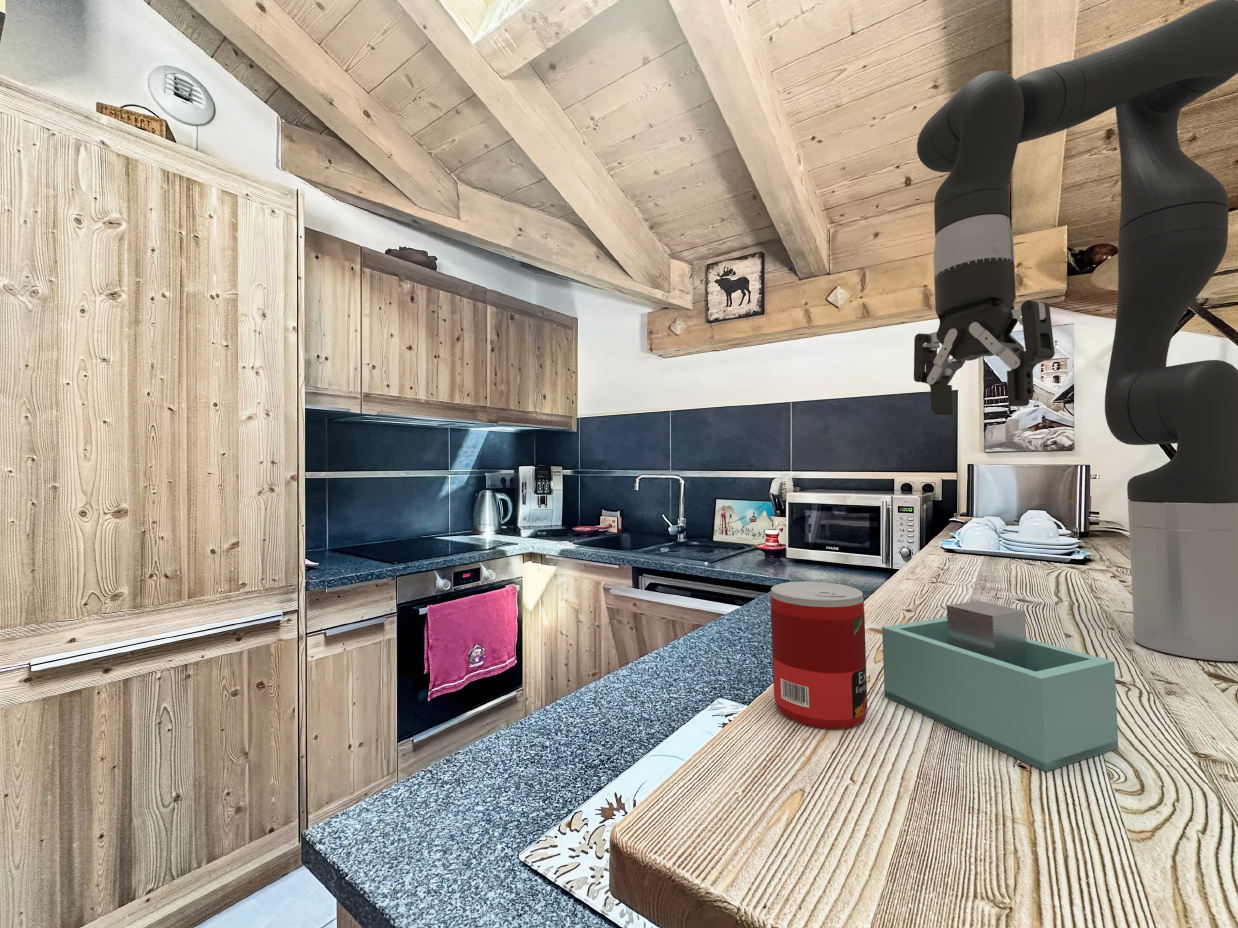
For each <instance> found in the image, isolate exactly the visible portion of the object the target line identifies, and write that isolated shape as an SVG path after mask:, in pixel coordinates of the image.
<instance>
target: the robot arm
mask: <svg viewBox="0 0 1238 928" xmlns="http://www.w3.org/2000/svg"><path fill="white" fill-rule="evenodd" d="M1237 74H1238V0H1212V1H1210V2H1207V3H1205V4H1203V5H1201V6H1198V7H1196V8H1195V9H1193V10H1191V11H1189V12H1187V13H1185V14H1182V16H1179V17H1177V18H1176V19H1174V20H1172V21H1170V22H1167V23H1165V24H1164V25H1161V26H1159V27H1156V28H1154V29H1151V30H1149V31H1147V32H1145V33H1142V34H1140V35H1138V36H1136V37H1132V38H1131V39H1129V40H1126V41H1123V42H1120V43H1118V44H1116V45H1115V44H1114V45H1112V46H1110V47H1108V48H1105V49H1103V50H1099V51H1096V52H1094V53H1091V54H1090V53H1089V54H1087V55H1084V56H1081V57H1079V58H1075V59H1072V60H1068V61H1065V62H1060V63H1057V64H1054V65H1050V66H1047V67H1044V68H1043V67H1042V68H1039V69H1037V70H1033V71H1030V72H1027V73H1025V74H1023V75H1020V76H1018V77H1017V78H1016V79H1015V78H1014V77H1013V76H1012V75H1010V74H1008V73H1006V72H1004V71H1002V70H989V71H985V72H983V73H981V74H979V75H976V76H975V77H973V78H972V79H970V80H969V81H968V82H966V84H965V85H963V86H962V87H961V88H960V89H959V90H958V91H957V92H956V93H955V94H954V95H953V96H952V97H951V98H950V99H948V100H947V102H946V103H945V104H944V105H943V106H942V107H940V109H938V110H937V111H936V112H935V113H934V114H933V115H932V116H931V117H930V118H929V119H928V120H927V122H926V123H925V124H924V125H923V127H922V129H921V131H920V133H919V135H918V138H917V142H916V152H917V156H918V158H919V161H920V162H921V163H922V164H923V165H924V167H926V168H927V169H929V170H931V171H933V172H937V173H949V174H948V175H947V177H946V178H945V179H944V181H943V182H942V183H941V184H940V186H939V188H938V189H937V191H936V192H935V196H934V202H933V203H934V205H933V206H934V207H933V208H934V210H933V214H934V215H933V216H934V239H935V240H934V249H933V278H934V280H933V281H934V301H935V302H934V306H935V314H936V316H937V317H938V320H939V325H938V328H937V331H934V332H929V333H921V332H919V333H917V334H916V335H915V336H914V343H913V344H914V345H913V347H914V348H913V354H914V355H913V358H914V359H913V380H914V382H915V383H924V384H927V385H928V386H929V388H930V408H931V411H932V412H933V413H934V415H935V416H936V417H949V416H952V415H953V411H954V409H953V408H954V407H953V406H954V405H953V385H952V384H950V382H951V380H952V379H953V377H954V376H955V374H956V372H957V371H958V370H960V369H962V367H963V366H964V365H965V363H966V361H967V362H968V361H969V362H971V361H974V360H977V359H979V358H981V357H992V356H996V357H997V358H999V359H1000V360H1001V361H1002V362H1003V363H1004V364H1005V365H1006V366H1007V367H1008V368H1009V369H1010V370H1007V371H1006V379H1007V380H1006V382H1007V384H1006V385H1007V403H1008V405H1009V407H1017V408H1018V407H1019V408H1021V407H1028V405H1029V404H1030V401H1031V400H1032V399H1033V397H1034V395H1035V392H1034V369H1035V367H1036V366H1037V365H1039V364H1040V363H1042V362H1044V361H1048V360H1049V361H1050V360H1051V359H1053V358H1054V357H1055V353H1056V352H1055V351H1056V350H1055V343H1054V336H1053V335H1054V334H1053V325H1052V317H1051V307H1050V304H1049V303H1048V302H1044V301H1036V300H1030V299H1029V300H1028V299H1027V300H1024V301H1023V302H1022V304H1021V306H1019V307H1016V308H1015V306H1014V303H1015V301H1016V299H1017V293H1016V292H1017V291H1016V289H1017V288H1016V273H1015V272H1016V271H1015V268H1016V267H1015V244H1014V243H1015V242H1014V237H1013V236H1014V235H1013V231H1012V227H1011V218H1010V203H1009V202H1010V198H1009V197H1010V196H1009V192H1010V191H1009V180H1010V176H1011V174H1012V169H1013V167H1014V163H1015V158H1016V156H1017V155H1016V154H1017V151H1018V145H1019V144H1022V143H1025V142H1030V141H1033V140H1037V139H1040V138H1043V137H1047V136H1051V135H1052V134H1053V135H1054V134H1058V133H1059V132H1062V131H1065V130H1068V129H1071V128H1073V127H1075V126H1078V125H1080V124H1081V125H1082V124H1083V123H1085V122H1088V121H1089V120H1091V119H1093V118H1096V117H1098V116H1099V115H1101V114H1103V113H1105V112H1107V111H1109V110H1111V109H1113V108H1115V117H1116V127H1117V137H1118V145H1119V155H1120V214H1119V215H1120V218H1119V228H1118V246H1117V248H1118V249H1117V268H1118V269H1117V270H1118V271H1117V272H1118V273H1117V274H1118V275H1117V276H1118V277H1117V279H1118V281H1117V301H1116V302H1117V304H1116V314H1115V315H1116V317H1115V327H1114V329H1115V330H1114V335H1113V343H1112V349H1111V354H1110V360H1109V367H1108V372H1107V379H1106V380H1107V381H1106V386H1105V394H1104V416H1105V421H1106V423H1107V428H1108V429H1109V431H1110V433H1111V434H1112V436H1113V437H1114V438H1115V439H1116V440H1118V441H1119V442H1120V443H1122V444H1125V445H1129V446H1148V445H1149V446H1150V445H1173V444H1174V445H1175V444H1176V451H1175V454H1174V455H1173V457H1172V458H1171V459H1170V460H1169V461H1168V462H1166V463H1164V464H1163V465H1161V466H1160V467H1158V468H1157V467H1156V468H1155V469H1153V470H1149V471H1147V472H1144V473H1140V474H1137V475H1134V476H1132V477H1131V478H1130V479H1129V480H1128V482H1127V487H1126V489H1127V490H1126V491H1127V510H1128V512H1127V513H1128V530H1129V531H1128V532H1129V533H1128V534H1129V550H1130V552H1129V554H1130V572H1131V573H1130V574H1131V576H1130V577H1131V592H1132V593H1131V596H1132V617H1133V618H1132V619H1133V621H1132V622H1133V638H1134V639H1133V640H1134V641H1135V643H1137V644H1139V645H1140V646H1144V647H1146V648H1148V649H1152V650H1155V651H1159V652H1162V653H1167V654H1170V655H1176V656H1181V657H1187V658H1193V659H1199V660H1207V661H1218V662H1238V369H1237V367H1235V366H1234V365H1233V364H1231V363H1229V362H1228V361H1224V360H1220V359H1208V360H1200V361H1194V362H1187V363H1181V364H1173V365H1170V366H1169V365H1168V366H1167V362H1168V361H1167V360H1168V354H1169V348H1170V345H1171V341H1172V338H1173V334H1174V333H1175V330H1176V328H1177V326H1178V324H1179V323H1180V321H1181V319H1182V318H1183V316H1184V315H1185V314H1186V312H1187V311H1188V309H1189V308H1190V307H1191V306H1192V304H1193V303H1194V302H1195V300H1196V299H1197V297H1198V296H1199V295H1200V294H1201V292H1203V290H1204V288H1205V287H1206V285H1207V284H1208V283H1209V281H1210V280H1211V279H1212V277H1213V276H1214V274H1215V273H1216V271H1217V269H1218V268H1219V266H1220V265H1221V263H1222V261H1223V259H1224V257H1225V255H1226V252H1227V248H1228V242H1229V241H1228V240H1229V210H1230V209H1229V208H1230V207H1229V206H1230V205H1229V197H1228V192H1227V190H1226V189H1225V186H1224V185H1223V184H1222V182H1220V180H1218V179H1217V178H1216V177H1215V176H1214V175H1213V174H1211V173H1210V172H1209V171H1208V170H1207V169H1205V168H1203V167H1202V166H1201V165H1199V164H1198V163H1197V162H1196V161H1194V160H1192V159H1191V157H1189V156H1188V155H1186V154H1185V153H1184V151H1183V150H1182V149H1181V146H1180V142H1179V136H1178V123H1179V116H1180V112H1181V111H1182V109H1184V107H1186V106H1187V105H1189V104H1191V103H1193V102H1195V101H1196V100H1198V99H1200V98H1201V97H1203V96H1204V95H1206V94H1208V93H1209V92H1211V91H1213V90H1215V89H1216V88H1218V87H1220V86H1222V85H1223V84H1225V83H1226V82H1228V81H1229V80H1231V79H1232V78H1233V77H1235V76H1236V75H1237ZM1017 324H1019V325H1020V326H1022V332H1023V341H1024V346H1023V344H1021V343H1020V342H1019V341H1018V340H1017V339H1016V338H1015V337H1014V336H1013V335H1012V333H1013V331H1014V329H1015V327H1016V326H1017ZM938 349H939V351H938ZM950 356H951V357H952V358H950Z"/></svg>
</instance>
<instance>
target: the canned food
mask: <svg viewBox="0 0 1238 928" xmlns="http://www.w3.org/2000/svg"><path fill="white" fill-rule="evenodd" d="M863 595H864V594H863V591H861V589H858V588H855V587H853V586H849V585H846V584H840V583H839V584H838V583H832V582H821V581H789V582H783V583H779V584H775V585H773V586H772V587H771V588H770V623H771V628H770V629H771V650H772V654H771V655H772V676H773V677H772V680H773V698H774V702H775V704H776V707H777V709H778V711H779V712H780V713H781V714H782V715H784V716H785V717H786V718H788V719H790V720H791V721H794V722H795V723H799V724H802V725H805V726H809V727H812V728H813V727H814V728H819V729H824V730H825V729H828V730H842V729H849V728H852V727H855V726H857V725H859V724H861V723H862V722H863V721H864V720H865V717H866V715H867V711H868V687H867V686H868V682H867V656H866V655H867V654H866V653H867V651H866V622H865V621H866V619H865V602H864V601H865V600H864V596H863Z"/></svg>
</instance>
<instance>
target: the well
mask: <svg viewBox="0 0 1238 928" xmlns="http://www.w3.org/2000/svg"><path fill="white" fill-rule="evenodd" d="M881 628H882V629H881V632H882V635H881V637H882V659H883V660H882V661H883V686H884V687H883V689H884V690H883V691H884V697H886V698H888V699H890V700H892V701H894V702H897V703H898V704H901V705H903V706H905V707H906V708H909V709H911V710H913V711H915V712H917V713H919V714H922V715H924V716H926V717H928V718H930V719H932V720H934V721H937V722H939V723H941V724H943V725H945V726H947V727H950V728H951V729H953V730H956V731H957V732H960V733H962V734H964V735H967V736H968V737H970V738H972V739H974V740H976V741H979V742H981V743H983V744H985V745H987V746H989V747H991V748H994V749H995V750H998V751H1000V752H1002V753H1004V754H1006V755H1008V756H1010V757H1012V758H1015V759H1017V760H1019V761H1021V762H1023V763H1025V764H1028V765H1029V766H1032V767H1033V768H1036V769H1038V770H1040V771H1042V772H1044V773H1047V772H1050V771H1052V770H1056V769H1058V768H1062V767H1065V766H1068V765H1071V764H1074V763H1075V764H1076V763H1077V762H1080V761H1083V760H1086V759H1089V758H1092V757H1095V756H1099V755H1101V754H1105V753H1108V752H1111V751H1114V750H1116V749H1119V734H1118V732H1119V731H1118V730H1119V729H1118V727H1119V726H1118V714H1117V713H1118V710H1117V709H1118V708H1117V706H1118V705H1117V691H1116V690H1117V689H1116V688H1117V686H1116V666H1115V661H1114V660H1110V659H1106V658H1104V657H1098V656H1096V655H1091V654H1087V653H1084V652H1079V651H1076V650H1072V649H1068V648H1064V647H1060V646H1058V645H1054V644H1049V643H1045V642H1041V641H1038V640H1034V639H1031V638H1027V637H1026V647H1027V669H1025V668H1022V667H1019V666H1016V665H1013V664H1009V663H1006V662H1003V661H1000V660H997V659H993V658H990V657H987V656H984V655H981V654H978V653H974V652H971V651H968V650H965V649H962V648H959V647H955V646H952V645H949V644H948V623H947V616H944V617H943V616H942V617H938V618H932V619H930V618H929V619H925V620H920V621H913V622H906V623H899V624H893V625H888V626H883V627H881Z"/></svg>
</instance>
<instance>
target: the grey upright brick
mask: <svg viewBox="0 0 1238 928" xmlns="http://www.w3.org/2000/svg"><path fill="white" fill-rule="evenodd" d="M946 615H947V616H946V617H947V623H948V644H949V645H952V646H955V647H959V648H962V649H965V650H968V651H971V652H974V653H978V654H981V655H984V656H987V657H990V658H993V659H997V660H1000V661H1003V662H1006V663H1009V664H1013V665H1016V666H1019V667H1022V668H1025V669H1027V647H1026V638H1027V631H1026V630H1027V628H1026V627H1027V626H1026V610H1024V609H1019V608H1014V607H1009V606H1005V605H1002V604H996V603H991V602H986V601H983V600H982V601H981V600H973V601H966V602H959V603H954V604H948V605H946Z"/></svg>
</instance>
